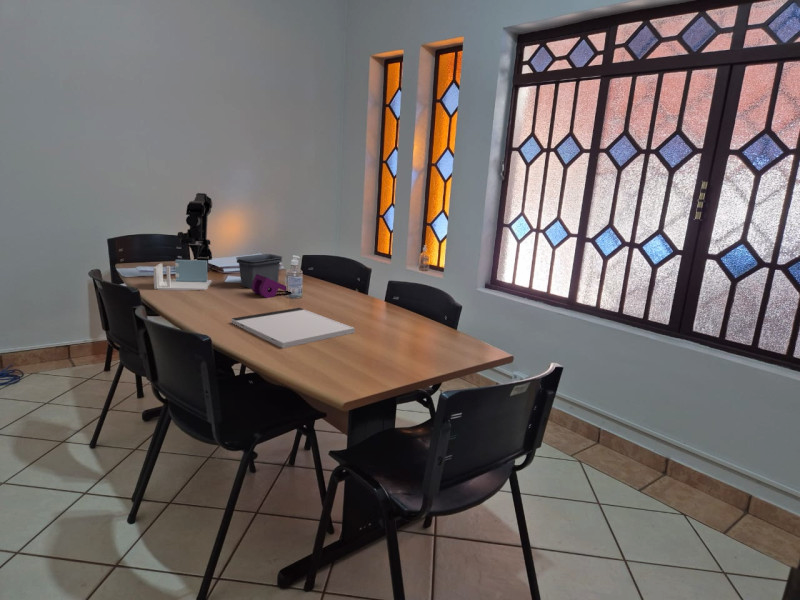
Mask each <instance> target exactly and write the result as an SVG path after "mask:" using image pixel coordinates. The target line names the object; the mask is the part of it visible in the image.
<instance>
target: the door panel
mask: <svg viewBox="0 0 800 600" xmlns="http://www.w3.org/2000/svg"><path fill="white" fill-rule="evenodd" d="M174 267H175V279H176V281H198V282H207V280H208V271H207V261H205V260H196V259H195V260H194V259H175V264H174Z"/></svg>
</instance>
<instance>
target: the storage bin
mask: <svg viewBox="0 0 800 600" xmlns="http://www.w3.org/2000/svg"><path fill="white" fill-rule="evenodd" d="M282 258H284V256H281V255H276V254H272V253H262V254H253V255H252V254H250V255H244V256H243V255H242V256H237V257H235V259H236V263H237V264H238V265H239V266H238V267H239V276H240V284H241V286H242V287H245V288H248V289H251V290H252V282H253V280H254V278H255V276H256V274H258V275H261V276H264V277H266V278H269V279H271V280H273V281H276V282H278V283H279V276H280V274H279V272H280V264H281V262H283V259H282Z"/></svg>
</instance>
